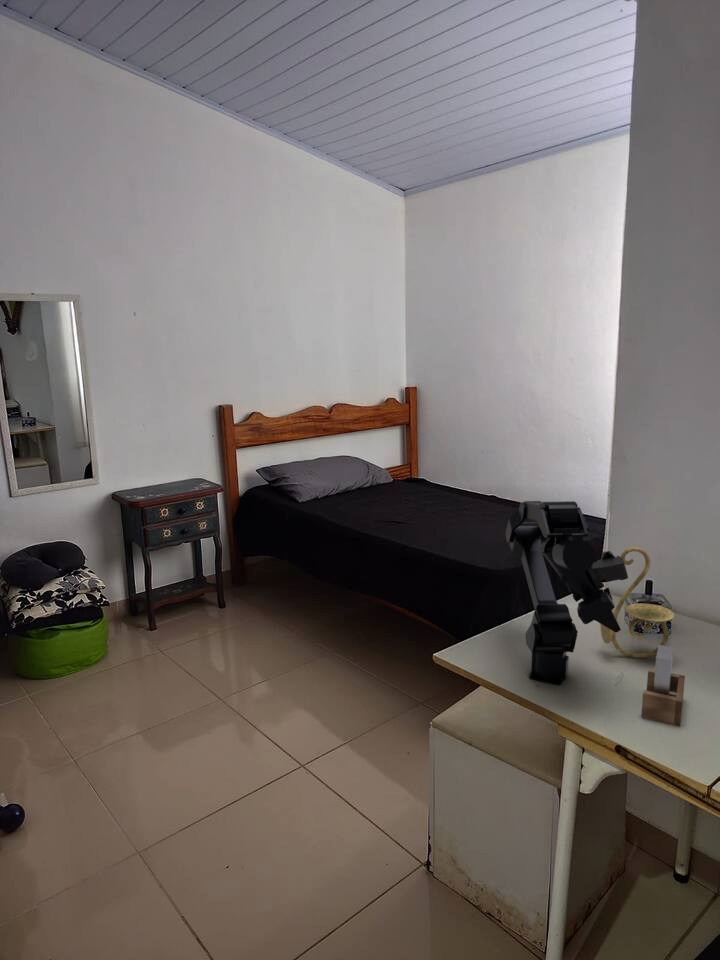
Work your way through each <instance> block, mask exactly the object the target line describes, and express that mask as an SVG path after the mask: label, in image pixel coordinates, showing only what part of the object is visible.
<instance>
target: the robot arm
mask: <svg viewBox="0 0 720 960" xmlns="http://www.w3.org/2000/svg"><path fill="white" fill-rule="evenodd" d="M525 520H530V521H529V522H528V521H527V522H526V521H525ZM507 521H508V522H507V524H506V525H507V526H506V530H505V538H506V542H507V543H508V544H509V547H510V550H511V552H512V553H513V554H514V555H515V556H517V557H518V558H519V559H520V560H521V563H522V567H523V571H524V574H525V579H526V582H527V586H528V589H529V593H530V596H531V601H532V604H533V608H534V612H533V616H532V619H531V622H530V625H529V627H528V629H527V630H526V631H525V645H526V646H527V647H528V649H529V651H530V653H531V666H530V668H531V671H530V673H529V674H528V679H529V680H533V681H535V682H536V681H537V682H541V683H546V684H551V685H554V686H559V687H560V686H562V684H563V682H564V681H565V680H566V679H567V677H568V676H569V664H570V663H569V659H570V657H569V655H567V653H574V650H575V648H576V643H577V642H576V641H577V638H578V633H579V632H578V630H577V627H576V624H575V623H574V622H573V618H572V616H571V614H570V609H569V607H568V605H567V604H566V603H558V602H557V599H556V595H555V592H554V588H553V584H552V582H551V579H550V575H549V571H548V569H547V566H546V563H545V559H546V560H547V561H548V563H549V564H550V565H551V567H552V568H553V569H554V571H555V572H556V574H557V575H558V577H559V581H560V582H561V584H562V585H564V584H565V586H566V587H567V588H568V591H570V593H571V594H572V598H573V600H574V601H575V602H576V603H577V602H578V604H577V608H576V611H577V617H579V619H580V620H581V622H582V624H584V625H588V624H590V623H592V622H593V621H595V622H597V623H599V624H602V625H604V626H605V627H607V628H609V629H610V630H612V631H614V632H615V634H617V633H619V632H620V631H621V630H622V629H621V627H620V625H619V622H618V619H617V620H616V618H615V616H614V609H615V608H616V607H615V604H614V600H613V597H612V594H611V592H610V588H609V587H606V588H605V589H603V588H604V587H605V585H604V584H605V583H610V582H615V581H619V580H620V581H625V580H627V579H628V578H629V575H628V572H627V571H628V570H627V567H626V565H625V563H624V561H623V558H622V557H621V556H619V555H614V553H613V552H611V550H607V551H606V550H605V551H603V552H602V553H601V558H600V559H597V561H595V559H596V553H595V551H594V548H593V547H592V545H591V544H590V543H589V542H587V541H586V540H584V538H588V537H589V526H588V523H587V521H586V518H585V516H584V514H583V511H582V509H581V508H580V506H579V505H578V503H577V502H576V501H571V500H569V501H540V500H536V501H535V500H533V501H532V500H528V501H527V500H524V501H523V502H520V504H519V507H518V509H517V511H516V512H514V513H513V514H512V515H511V516H510V517H509V518H508V520H507ZM544 557H545V558H544ZM579 601H580V602H579Z"/></svg>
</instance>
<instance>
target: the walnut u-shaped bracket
mask: <svg viewBox="0 0 720 960" xmlns="http://www.w3.org/2000/svg"><path fill="white" fill-rule="evenodd" d="M654 678H655V669H652V668H648V670H647V681H646V690H645V689H644V690H643V691H642V703H641V705H642V706H641V716H640V717H641V719H645V720H649V721H653V722H657V723H661V724H666V725H669V726H670V725H671V726H675V727H679V728H680V727H681V722H682V721H681V720H682V713H683V712H682V710H683V702H684V692H685V679H686V676H685V675H682V674H677V673H673V672H672V673H671V685H670V691H671V692H676V693H677V695H676V697H673V696H669V695H664V694H659V693H655V692H653V691H654Z"/></svg>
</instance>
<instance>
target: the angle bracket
mask: <svg viewBox="0 0 720 960" xmlns="http://www.w3.org/2000/svg"><path fill="white" fill-rule="evenodd" d="M657 647H658V651H657V654H656V656H655V667H654V670H655V678H654V691H653V692H655V693H659V694H664V695H669V696H673V697H676V695H677V693H676V692H671V691H670V685H671V673H673V672H672V669H673V656H674V647H673V646H667V645H665V646H663V645H660V644H658V646H657Z"/></svg>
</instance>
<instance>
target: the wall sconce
mask: <svg viewBox="0 0 720 960" xmlns="http://www.w3.org/2000/svg"><path fill="white" fill-rule="evenodd" d="M631 552H637V553H640V554H642V556H643V558H644V560H645V563H644V564H645V565H644V568H643V570H642V571H641V573H640V574H639V575H638V576H637V578H636V579H635V580H634V581H633V582H632V583H631V584H630V586H629V587H628V588H627V589H626V591H625V592H624V593H623V595H622V596H621V598H620V599H619V600H618V603H617V605H616V607H615V608H614V610H613V613H614V616H615V618H616V620H617V621H618V617H619V614H620V612H621V609H622V608H623V605H624V603H625V601H626V600H627V599H628V597H629V596H630V595H631V593H632V592H633V591H634V589H636V587H638V585H639V584H640V583H641V582H642V580H643V579H644V578H645V577H646V575H647V574H648V573H649V570H650V568H651V567H650V566H651V558H650V556H649V554H648V552H647V551H646V550H645V549H643V548H641V547H638V546H632V547H631V546H630V547H628V548H626V549H624V550H623V552H622V553H621V555H620V557H622V558H623V561H624V563H625V566H629V565H632V564H633V563H634V559H633V558H632V559H630V560H626V556H627V554H629V553H631ZM625 612H626V613H627V614H628V615H630V616H631V617H632V618H633V617H634V618H635V619H633V620H632V621H630V624H629V625H628V631H629V634H630V635H631V636H632V637H634V638H635V639H640V638H643V637H645V634H643V632H642V633H641V632H640V633H636V632H635V630H634V629H635V626H636V625H637V624H639V623H641V622H646V623H647V624H646V625H643V628H644V632H647V631H648V632H652V628H653V627H654V625H650V624H651V623H652V622H653V623H659V624H660V626H661V627H662V630H663V631H662V632H663V635H662V636H663V637H662V641H661V643H660V644H659V645H663V646H667V643H668V640H669V629H668V626H667V623H666V622H669V621H671V620H673V619H674V618H675V613H674V612H673V611H672V610H670V609H669V608H667V607H665V606H660V605H658V604H651V603H642V602H641V603H632V604H629V605H627V606H626V607H625ZM599 624H600V623H599ZM599 626H600V633H601V638H602V640H603V642H604V643H605V644H607V645H608V644H610V643H612V644H613V646H614V648H615V649H616V650H617V651H618V652H619V653H621V654H622V655H625V656H627V657H630V658H636V659H644V658H649V657H653V656H655V655H657V651H658V646H657V647H656V648H655V649H652V650H650V651H648V652H644V653H640V652H639V653H636V652H635V653H634V652H631V651H628V650H626V649H624V648H623V647H622V646H621V645H620V644H619V643H618V641H617V636H616V632H614V631H612V630H610V629H609V628H607V627H605V626H604V625H602V624H600V625H599Z"/></svg>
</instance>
